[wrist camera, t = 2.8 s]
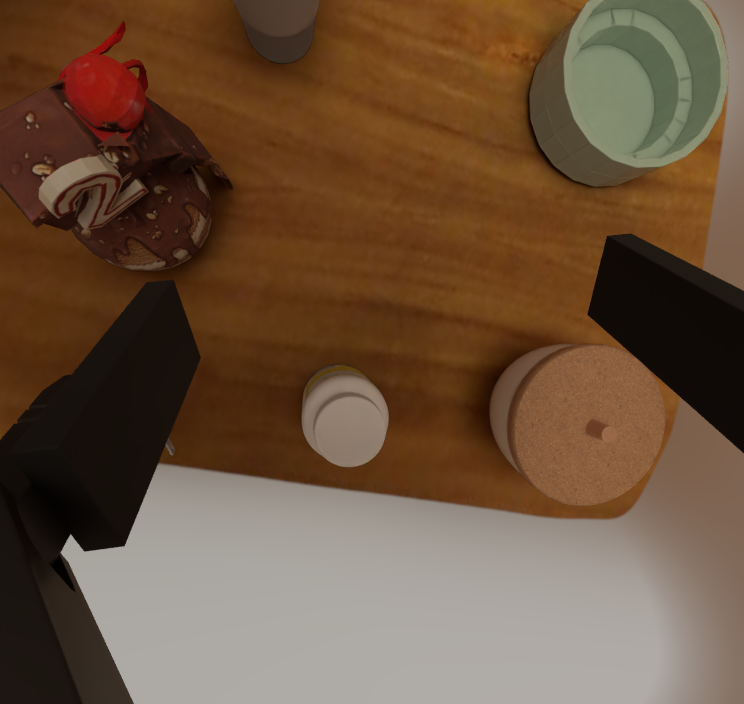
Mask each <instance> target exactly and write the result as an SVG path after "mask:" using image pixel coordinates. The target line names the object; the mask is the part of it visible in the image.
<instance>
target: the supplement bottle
mask: <svg viewBox="0 0 744 704" xmlns="http://www.w3.org/2000/svg"><path fill="white" fill-rule="evenodd" d="M388 420H389V415H388V408H387V405H386V402H385V400H384V398H383V396H382V394H381V393H380V391H379V390H378V389H377V388H376V387H375V386H374V384H373V383H372V382H371V381H370V380H369V379H368V378H367V377H366V376H365V375H364V374H363V373H362V372H361V371H359V370H358V369H356V368H354V367H352V366H349V365H344V364H333V365H328V366H326V367H323V368H321V369H320V370H318V371H317V372H316V373H315V374H313V375H312V377H311V378H310V379H309V381H308V382H307V384H306V387H305V389H304V393H303V401H302V419H301V421H302V428H303V432H304V435H305V438H306V440H307V441H308V443H309V444H310V446H311V447H312V448H313V449H314V450H315V451H316V452H317V453H318V454H320V455H321V456H323V457H324V458H325V459H327V460H328V461H329V462H331V463H333V464H335V465H338V466H342V467H355V466H360V465H363V464H365V463H367V462H368V461H370V460H371V459H373V458H374V457H375V456H376V455H377V453H378V452H379V451H380V449H381V447H382V445H383V443H384V440H385V435H386V431H387V427H388Z"/></svg>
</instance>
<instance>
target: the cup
mask: <svg viewBox="0 0 744 704" xmlns="http://www.w3.org/2000/svg"><path fill="white" fill-rule="evenodd" d="M233 1H234V4H235V7H236V8H237V10H238V12H239V13H240V15H241V18H242V21H243V24H244V26H245V29H246V32H247V35H248V38H249V40H250V42H251V44H252V46H253V47H254V49H255V50H256V51H257V52H258V53H259V54H260V55H261V56H263V57H264V58H266V59H268V60H270V61H272V62H276V63H291V62H294V61H296V60H298V59H300V58H301V57H302V56H303V55H304V54H305V53H306V52H307V51H308V49H309V48H310V45H311V43H312V39H313V32H314V23H315V15H316V12H317V10H318V5H319V0H233Z"/></svg>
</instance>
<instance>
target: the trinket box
mask: <svg viewBox="0 0 744 704" xmlns="http://www.w3.org/2000/svg"><path fill="white" fill-rule="evenodd" d="M489 414H490V424H491V429H492V433H493V436H494V438H495V440H496V443H497V445H498V446H499V448H500V450H501V451H502V453H503V455H504V456H505V457H506V459H507V460H508V461H509V462H510V463H511V465H512V466H513V467H514V468H515V469H516V470H517V471H518V472H519V473H520V474H521V475H522V476H524V477H525V479H526V480H527V481H528V482H529V483H530V484H531V485H532V486H533V487H535V488H536V489H537V490H538V491H540V492H541V493H542V494H544V495H545V496H547V497H549V498H551V499H553V500H555V501H558V502H560V503H563V504H568V505H574V506H590V505H595V504H600V503H603V502H607V501H610V500H613V499H614V498H616V497H618V496H620V495H622V494H624V493H625V492H626V491H628V490H629V489H631V488H632V487H633V486H634V485H635V484H636V483H637V482H638V481H640V480H641V479H642V477H643V476H644V475H645V474H646V472H647V471H648V470H649V469H650V467H651V465H652V463H653V462H654V460H655V458H656V456H657V454H658V451H659V449H660V447H661V443H662V439H663V434H664V427H665V410H664V404H663V398H662V395H661V392H660V390H659V387H658V385H657V383H656V381H655V379H654V377H653V376H652V374H651V373H650V372H649V370H648V369H647V368H646V366H645V365H643V364H642V363H641V362H640V361H639V360H638V359H637V358H635V357H634V356H632V355H631V354H629V353H628V352H626V351H623V350H621V349H619V348H616V347H612V346H607V345H602V344H557V345H549V346H545V347H542V348H539V349H535V350H532V351H530V352H528V353H526V354H524V355H522V356H521V357H520V358H518V359H517V360H515V361H514V362H513V363H512V364H511V365H509V366H508V367H507V368H506V370H505V371H504V372H503V373H502V375H501V376H500V378H499V379H498V381H497V383H496V385H495V387H494V390H493V392H492V396H491V400H490V409H489Z"/></svg>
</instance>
